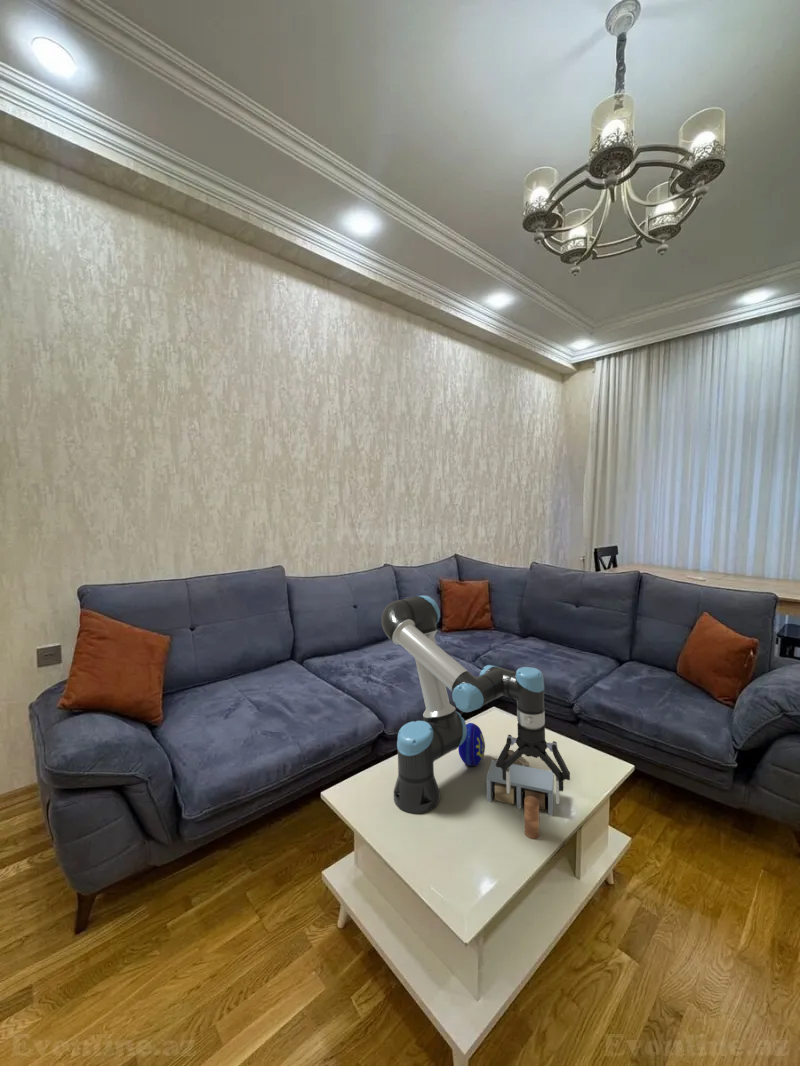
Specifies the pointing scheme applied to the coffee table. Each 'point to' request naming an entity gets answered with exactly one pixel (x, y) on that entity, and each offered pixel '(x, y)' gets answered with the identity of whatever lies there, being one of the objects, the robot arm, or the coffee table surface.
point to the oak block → (504, 793)
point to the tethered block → (533, 811)
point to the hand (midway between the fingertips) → (532, 795)
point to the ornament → (472, 746)
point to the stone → (519, 761)
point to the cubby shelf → (522, 782)
